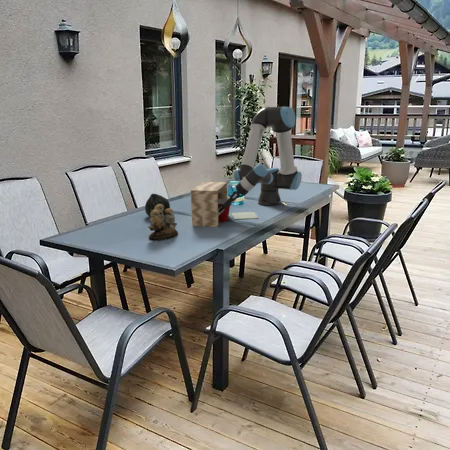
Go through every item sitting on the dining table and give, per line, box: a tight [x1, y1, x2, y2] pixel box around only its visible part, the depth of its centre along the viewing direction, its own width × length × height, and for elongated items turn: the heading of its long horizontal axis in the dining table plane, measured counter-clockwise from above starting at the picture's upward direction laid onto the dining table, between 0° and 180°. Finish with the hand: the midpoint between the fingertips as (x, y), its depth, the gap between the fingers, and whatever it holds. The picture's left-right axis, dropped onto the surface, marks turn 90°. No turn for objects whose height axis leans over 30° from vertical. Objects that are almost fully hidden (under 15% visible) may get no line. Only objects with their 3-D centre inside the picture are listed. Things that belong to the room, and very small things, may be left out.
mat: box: [231, 211, 259, 221], centre depth 264 cm, size 14×14×1 cm
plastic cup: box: [218, 198, 232, 223], centre depth 254 cm, size 11×11×12 cm
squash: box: [144, 193, 171, 218], centre depth 266 cm, size 14×15×15 cm
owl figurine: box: [147, 204, 179, 241], centre depth 226 cm, size 18×12×17 cm, turn 144°
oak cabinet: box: [190, 181, 228, 228], centre depth 254 cm, size 14×26×20 cm, turn 167°
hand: (217, 213), depth 255 cm, fingers closed on plastic cup, 10 cm apart
